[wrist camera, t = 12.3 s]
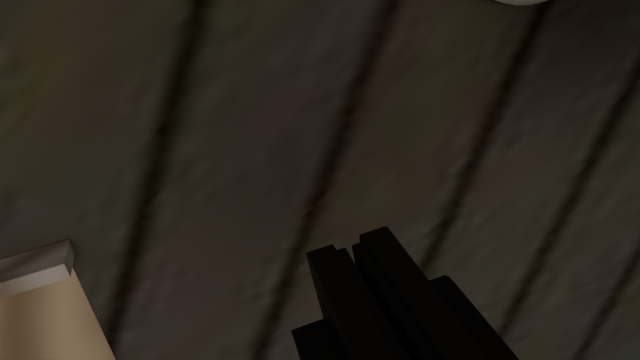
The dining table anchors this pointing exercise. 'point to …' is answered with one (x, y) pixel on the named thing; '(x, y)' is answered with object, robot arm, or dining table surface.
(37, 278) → the dock
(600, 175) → the dining table surface
